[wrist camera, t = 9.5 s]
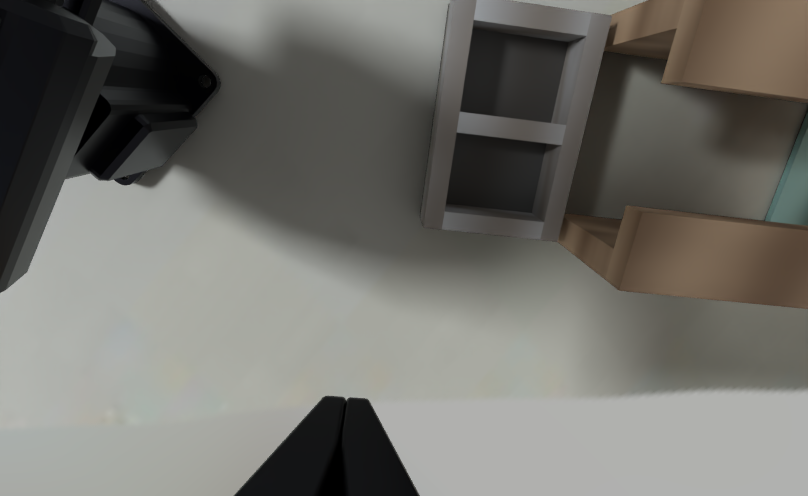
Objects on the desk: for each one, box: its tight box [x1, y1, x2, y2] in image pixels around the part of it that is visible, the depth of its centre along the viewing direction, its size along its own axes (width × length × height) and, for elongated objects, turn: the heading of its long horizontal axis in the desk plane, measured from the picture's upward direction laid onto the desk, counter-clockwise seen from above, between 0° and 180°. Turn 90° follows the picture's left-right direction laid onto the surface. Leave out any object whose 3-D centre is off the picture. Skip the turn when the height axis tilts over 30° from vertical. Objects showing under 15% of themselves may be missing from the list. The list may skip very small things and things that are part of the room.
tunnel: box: [420, 0, 808, 309], centre depth 17 cm, size 24×10×6 cm, turn 83°
